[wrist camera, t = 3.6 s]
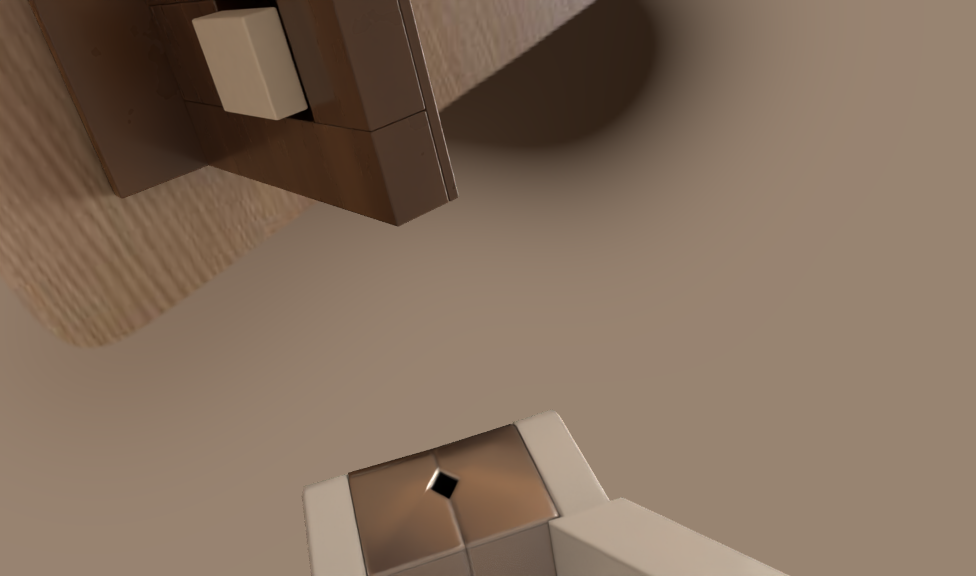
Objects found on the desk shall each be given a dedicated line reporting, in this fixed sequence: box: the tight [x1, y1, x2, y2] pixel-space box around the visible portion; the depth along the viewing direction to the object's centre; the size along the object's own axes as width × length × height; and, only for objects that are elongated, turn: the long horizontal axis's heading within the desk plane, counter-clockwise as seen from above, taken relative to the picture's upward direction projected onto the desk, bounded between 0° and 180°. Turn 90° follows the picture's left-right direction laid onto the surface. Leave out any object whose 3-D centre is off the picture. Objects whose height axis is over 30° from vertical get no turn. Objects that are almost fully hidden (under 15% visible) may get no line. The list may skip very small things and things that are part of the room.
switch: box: [192, 7, 308, 120], centre depth 27 cm, size 1×3×4 cm, turn 16°
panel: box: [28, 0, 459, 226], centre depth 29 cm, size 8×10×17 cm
